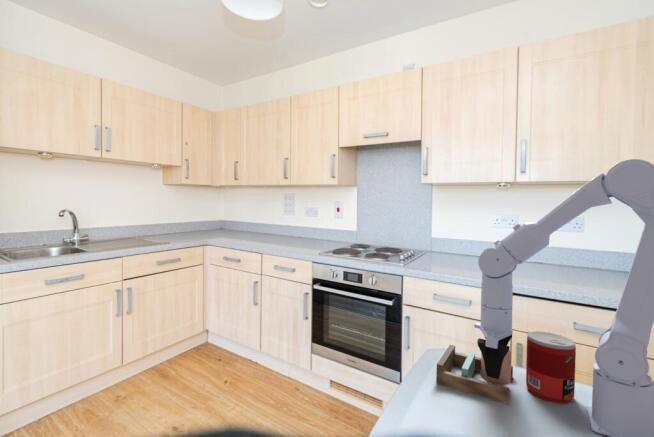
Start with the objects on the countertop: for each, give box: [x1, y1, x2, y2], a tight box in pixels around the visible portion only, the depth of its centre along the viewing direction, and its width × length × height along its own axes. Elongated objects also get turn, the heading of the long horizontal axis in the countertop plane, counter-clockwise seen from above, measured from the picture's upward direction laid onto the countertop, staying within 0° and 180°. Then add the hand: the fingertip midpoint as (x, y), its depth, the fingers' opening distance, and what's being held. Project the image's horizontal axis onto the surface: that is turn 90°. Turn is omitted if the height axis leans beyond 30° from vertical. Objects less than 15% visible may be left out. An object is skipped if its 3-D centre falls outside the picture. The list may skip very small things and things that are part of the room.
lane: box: [435, 344, 514, 405], centre depth 69 cm, size 13×12×4 cm
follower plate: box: [461, 352, 476, 378], centre depth 70 cm, size 1×9×4 cm, turn 147°
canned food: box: [525, 331, 577, 404], centre depth 65 cm, size 8×8×11 cm
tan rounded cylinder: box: [480, 349, 512, 386], centre depth 67 cm, size 6×6×6 cm
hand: (494, 371), depth 67 cm, fingers closed on tan rounded cylinder, 5 cm apart
